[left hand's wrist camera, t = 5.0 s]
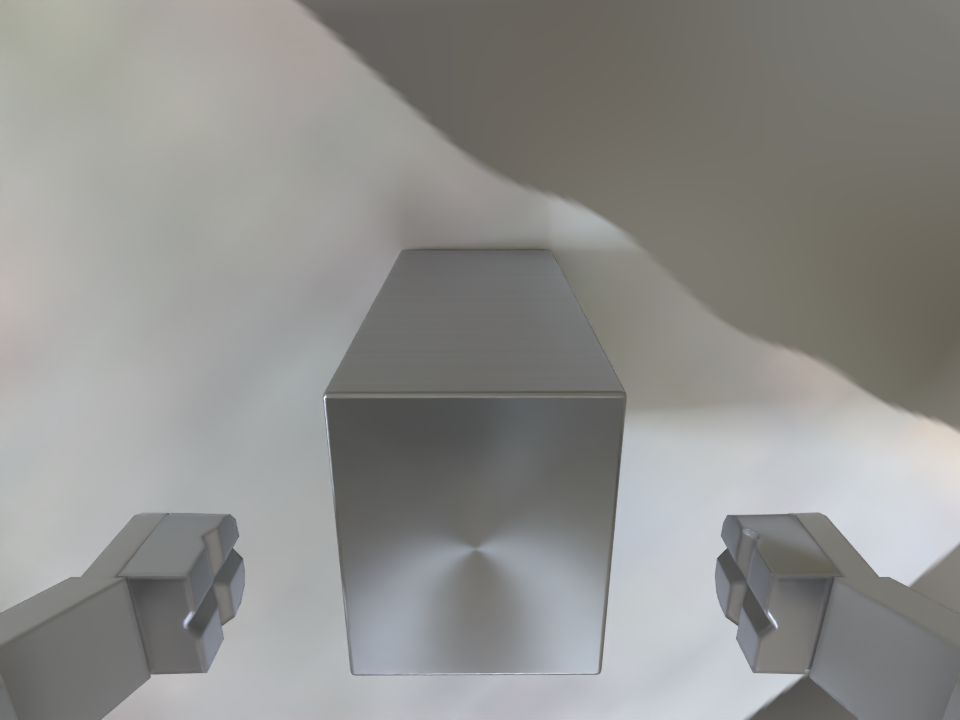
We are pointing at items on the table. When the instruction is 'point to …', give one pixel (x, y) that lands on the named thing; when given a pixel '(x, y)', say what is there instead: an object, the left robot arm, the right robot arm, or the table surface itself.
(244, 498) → the table surface
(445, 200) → the table surface
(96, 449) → the table surface
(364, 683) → the table surface
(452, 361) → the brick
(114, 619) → the left robot arm
